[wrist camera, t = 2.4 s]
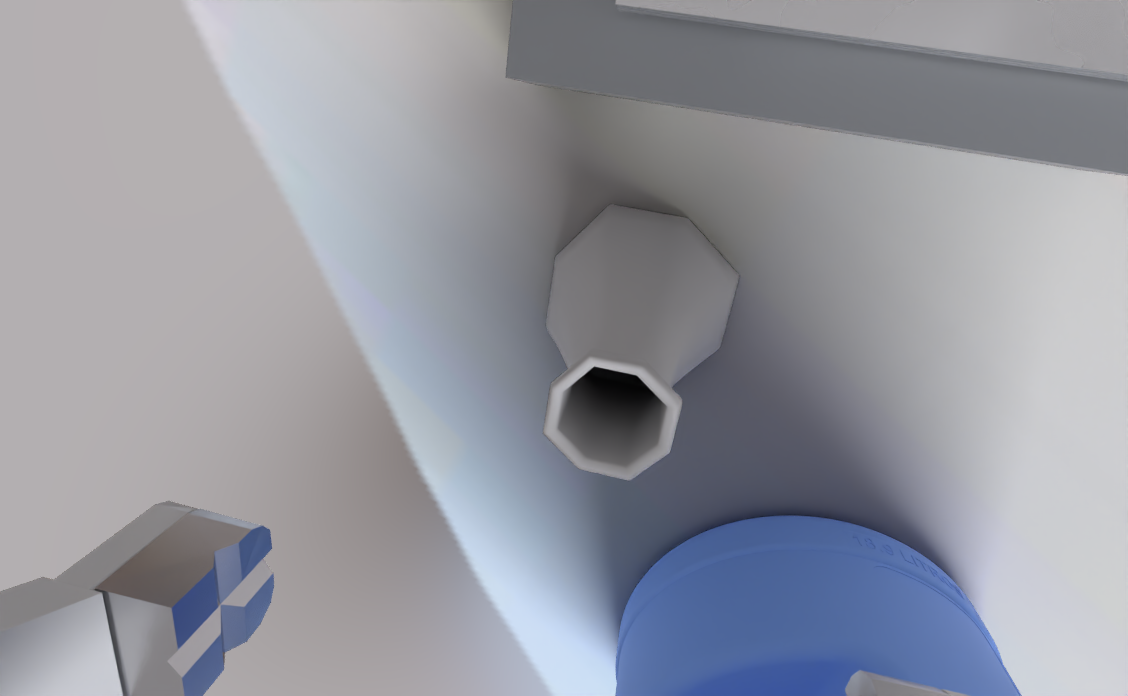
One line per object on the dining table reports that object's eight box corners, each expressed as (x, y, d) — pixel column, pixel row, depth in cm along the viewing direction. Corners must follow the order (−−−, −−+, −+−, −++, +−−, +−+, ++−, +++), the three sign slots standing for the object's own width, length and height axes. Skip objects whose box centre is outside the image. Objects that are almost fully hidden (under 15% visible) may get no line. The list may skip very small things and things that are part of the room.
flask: (671, 415, 24) (665, 593, 15) (517, 330, 24) (418, 458, 15) (774, 265, 21) (844, 373, 12) (600, 168, 21) (540, 204, 12)
